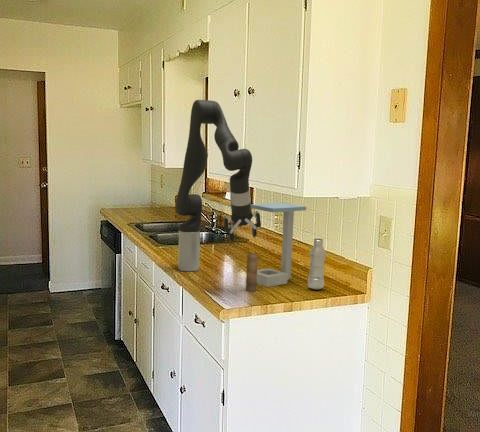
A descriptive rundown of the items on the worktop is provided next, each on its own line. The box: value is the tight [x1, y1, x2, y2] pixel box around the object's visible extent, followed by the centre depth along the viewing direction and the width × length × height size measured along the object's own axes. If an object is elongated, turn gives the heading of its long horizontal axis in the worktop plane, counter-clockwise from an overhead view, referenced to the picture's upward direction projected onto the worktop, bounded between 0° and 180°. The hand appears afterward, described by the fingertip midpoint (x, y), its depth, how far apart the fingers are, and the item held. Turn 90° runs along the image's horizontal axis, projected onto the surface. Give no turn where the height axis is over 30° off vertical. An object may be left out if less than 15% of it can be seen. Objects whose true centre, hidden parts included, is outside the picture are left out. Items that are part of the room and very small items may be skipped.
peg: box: [245, 253, 259, 292], centre depth 201 cm, size 4×4×14 cm
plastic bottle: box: [307, 238, 327, 290], centre depth 206 cm, size 6×7×20 cm
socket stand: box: [251, 202, 307, 288], centre depth 215 cm, size 18×14×32 cm
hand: (243, 238), depth 204 cm, fingers open, 8 cm apart
